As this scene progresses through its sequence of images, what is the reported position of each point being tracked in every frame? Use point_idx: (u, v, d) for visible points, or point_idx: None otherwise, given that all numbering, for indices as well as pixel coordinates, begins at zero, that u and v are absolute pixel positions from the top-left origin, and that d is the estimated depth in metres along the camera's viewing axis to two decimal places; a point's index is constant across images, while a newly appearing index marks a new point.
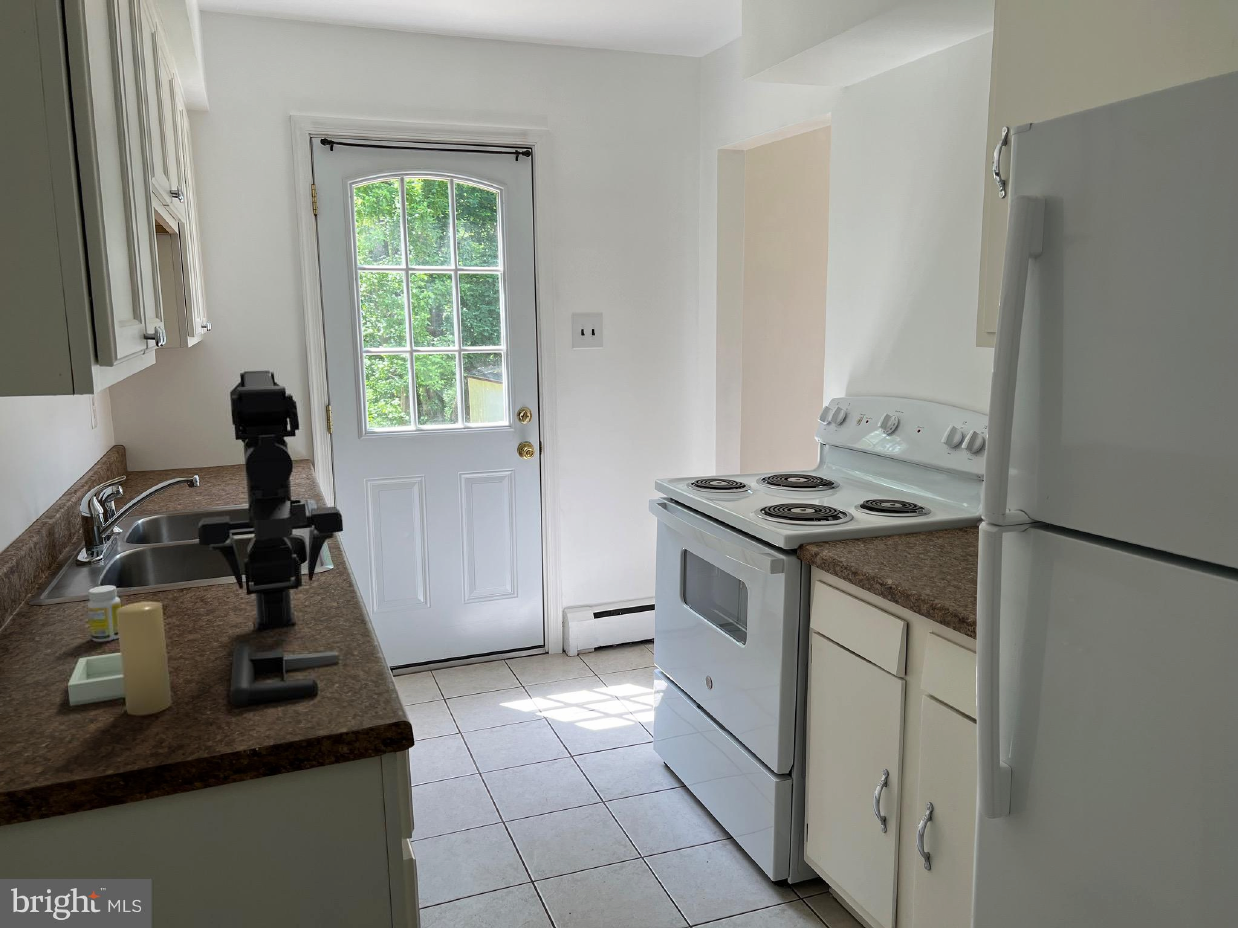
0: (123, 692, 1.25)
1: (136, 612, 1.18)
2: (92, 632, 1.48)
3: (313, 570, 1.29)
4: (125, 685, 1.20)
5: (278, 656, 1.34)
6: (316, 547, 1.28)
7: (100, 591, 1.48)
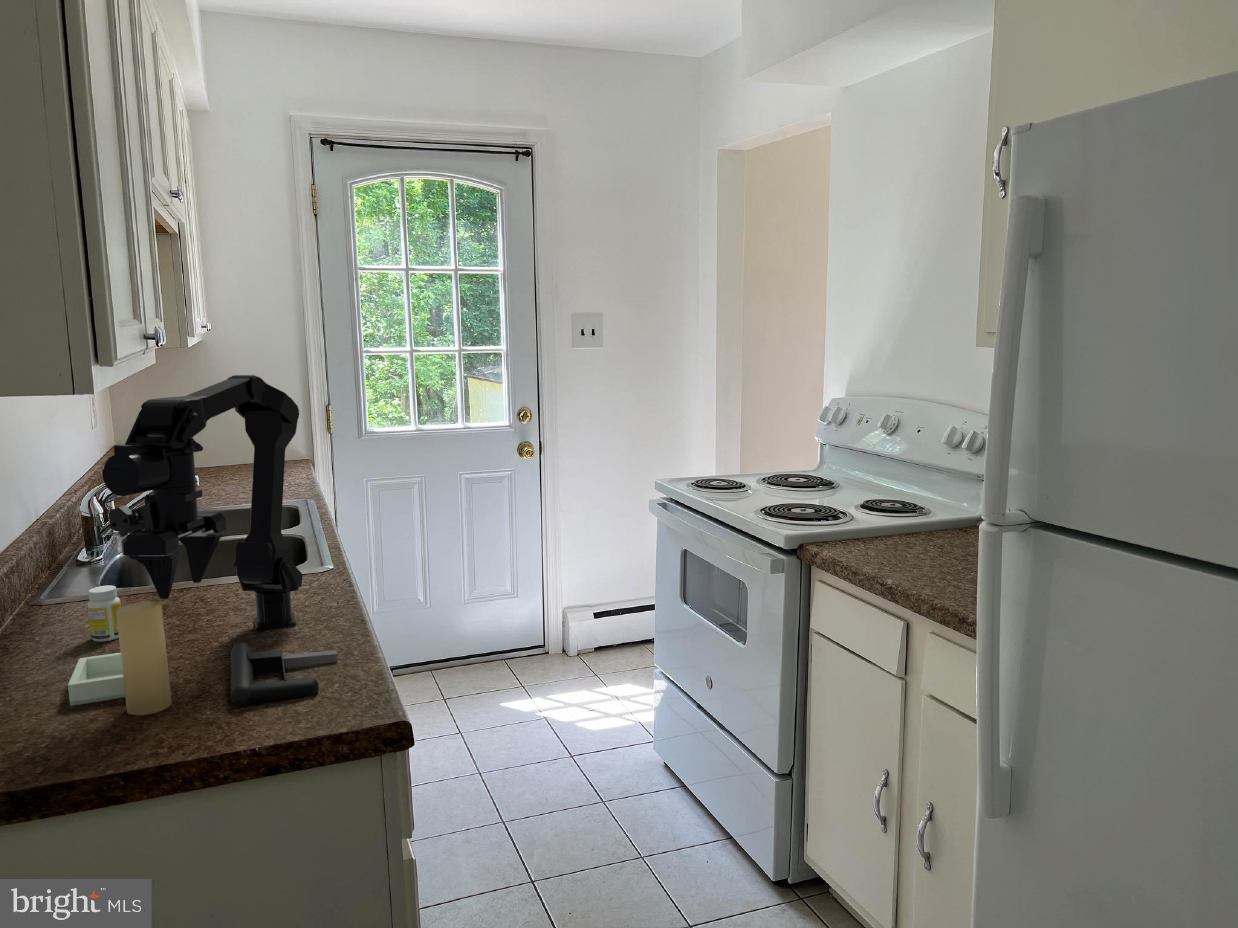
0: (123, 692, 1.25)
1: (136, 612, 1.18)
2: (92, 632, 1.48)
3: (156, 588, 1.27)
4: (125, 685, 1.20)
5: (276, 655, 1.34)
6: None
7: (100, 591, 1.48)
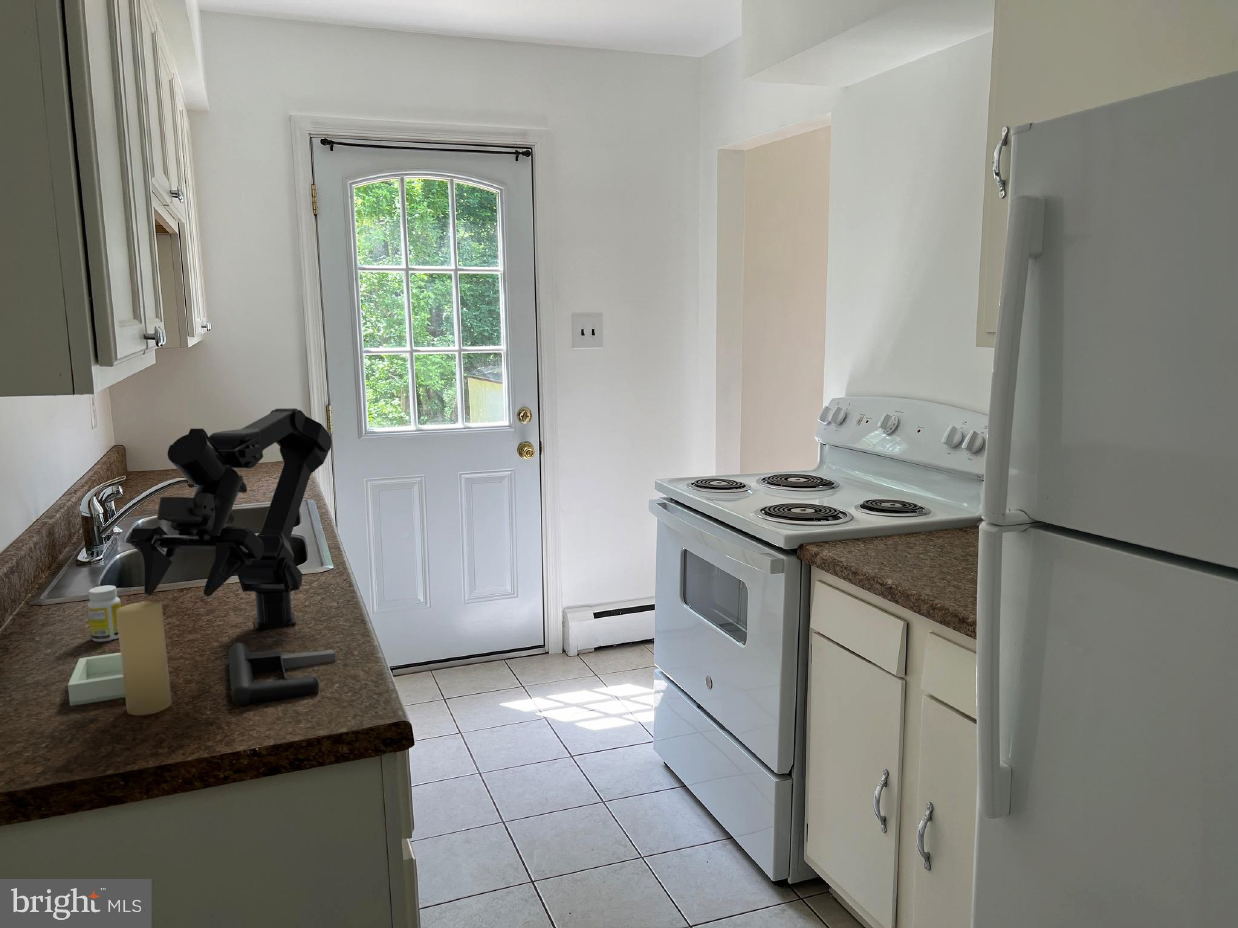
0: (123, 692, 1.25)
1: (136, 612, 1.18)
2: (92, 632, 1.48)
3: (210, 582, 1.28)
4: (125, 685, 1.20)
5: (275, 655, 1.34)
6: (219, 558, 1.29)
7: (100, 591, 1.48)
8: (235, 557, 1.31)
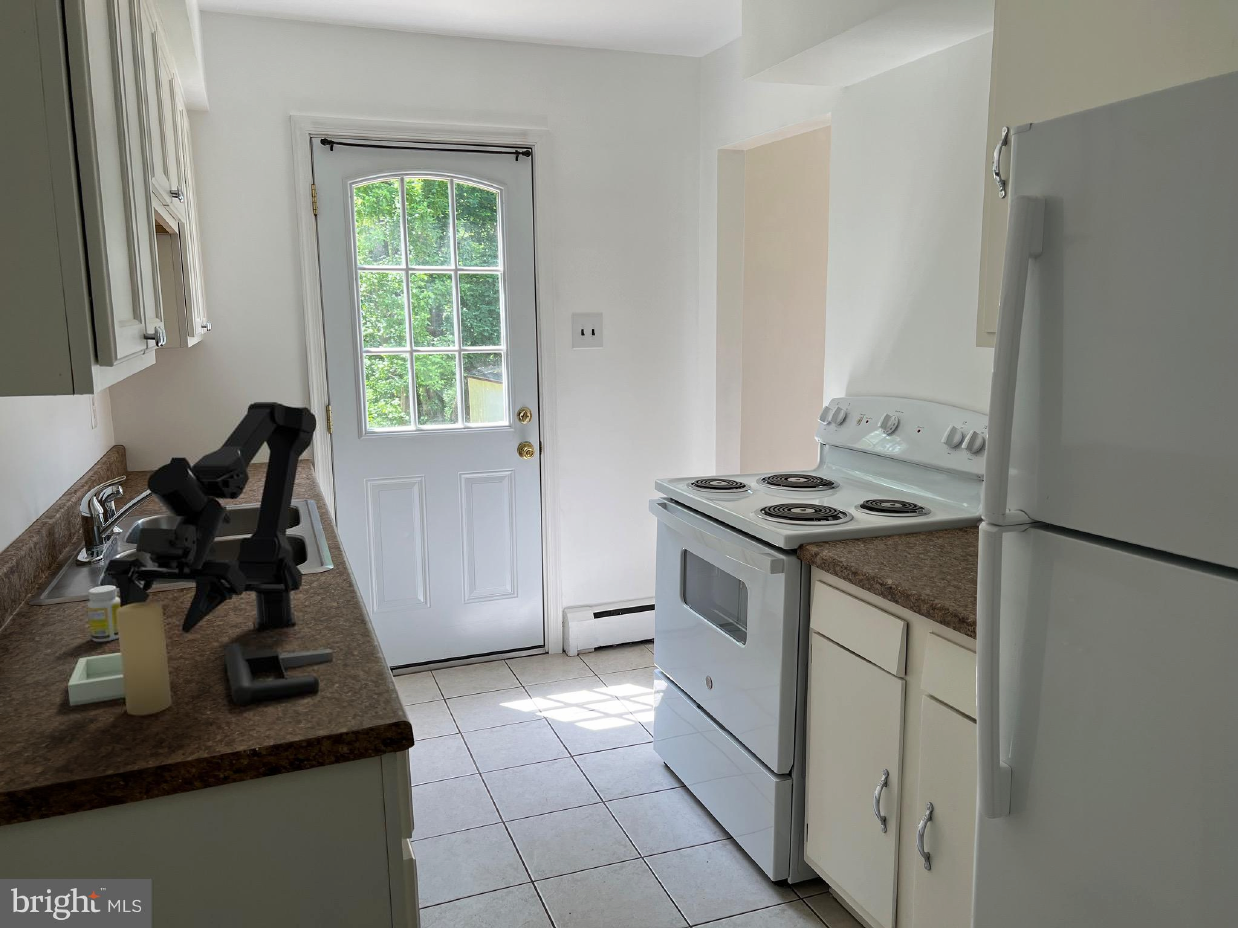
0: (123, 692, 1.25)
1: (136, 612, 1.18)
2: (92, 632, 1.48)
3: (188, 618, 1.23)
4: (125, 685, 1.20)
5: (273, 655, 1.34)
6: (199, 593, 1.24)
7: (100, 591, 1.48)
8: (216, 592, 1.26)
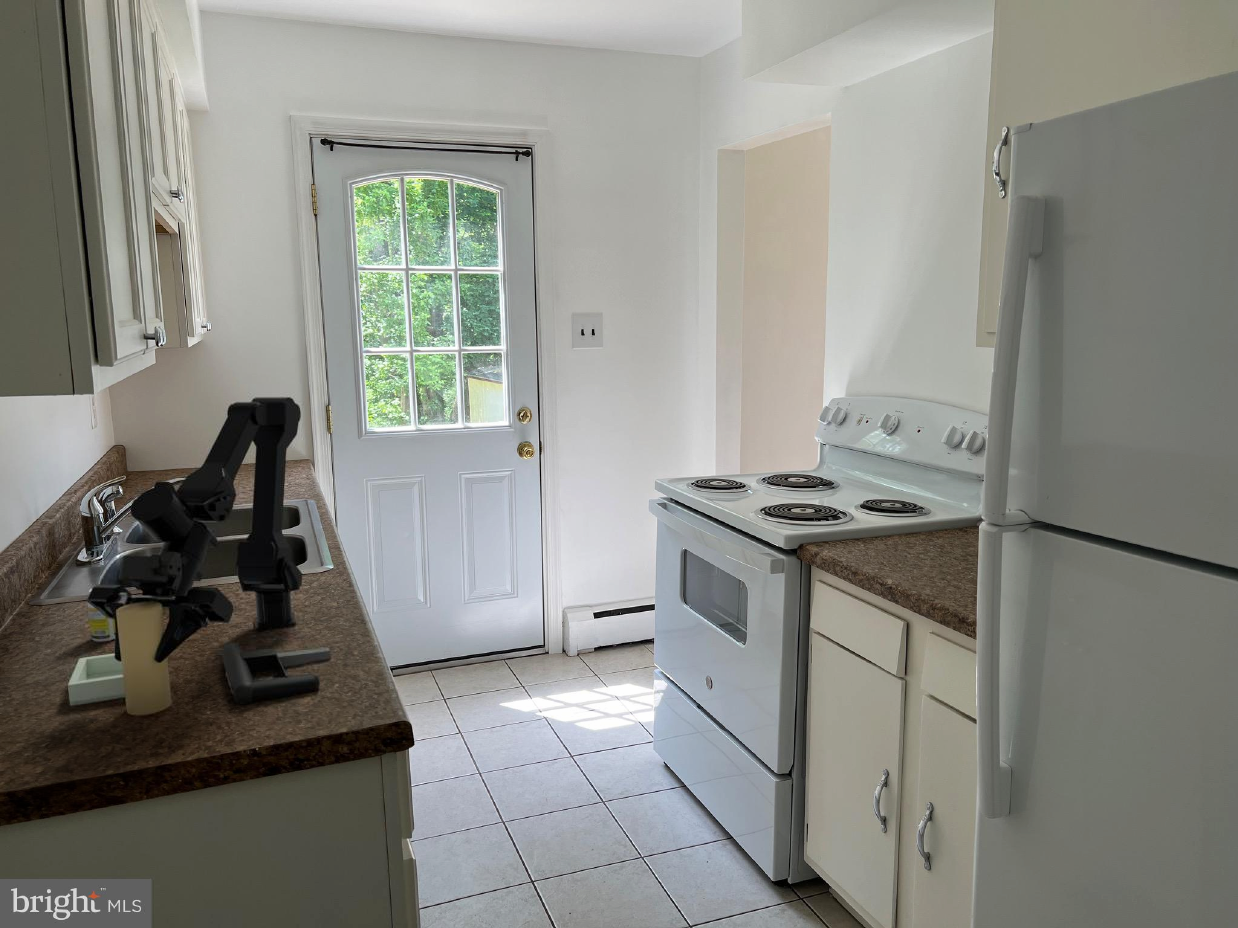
0: (123, 692, 1.25)
1: (136, 612, 1.18)
2: (92, 632, 1.48)
3: (161, 647, 1.20)
4: (125, 685, 1.20)
5: (271, 654, 1.35)
6: (173, 622, 1.21)
7: None
8: (190, 619, 1.23)
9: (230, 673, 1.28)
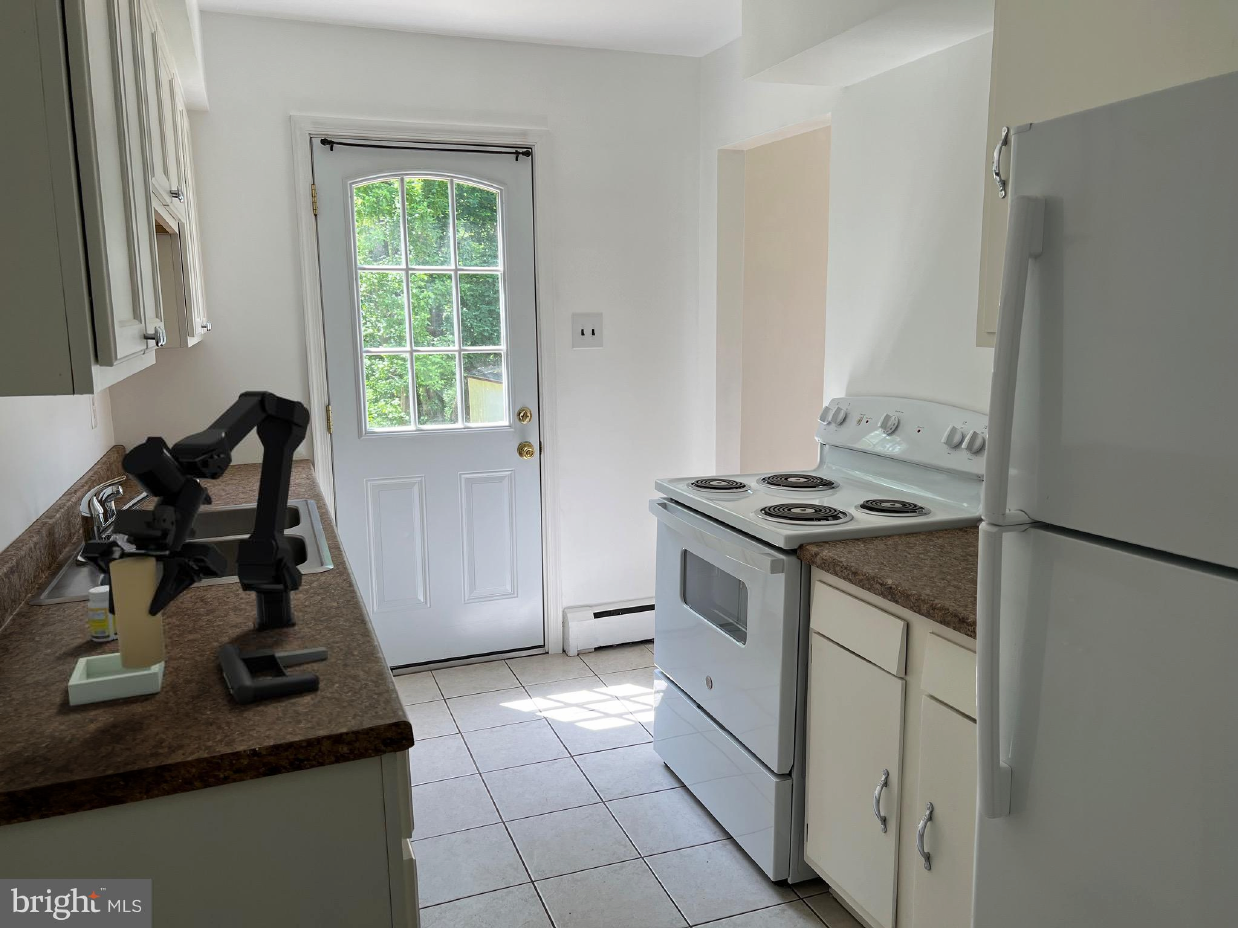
0: (123, 692, 1.25)
1: (130, 565, 1.18)
2: (92, 632, 1.48)
3: (156, 601, 1.20)
4: (119, 639, 1.20)
5: (269, 654, 1.35)
6: (167, 575, 1.21)
7: (100, 591, 1.48)
8: (184, 574, 1.23)
9: (229, 673, 1.28)
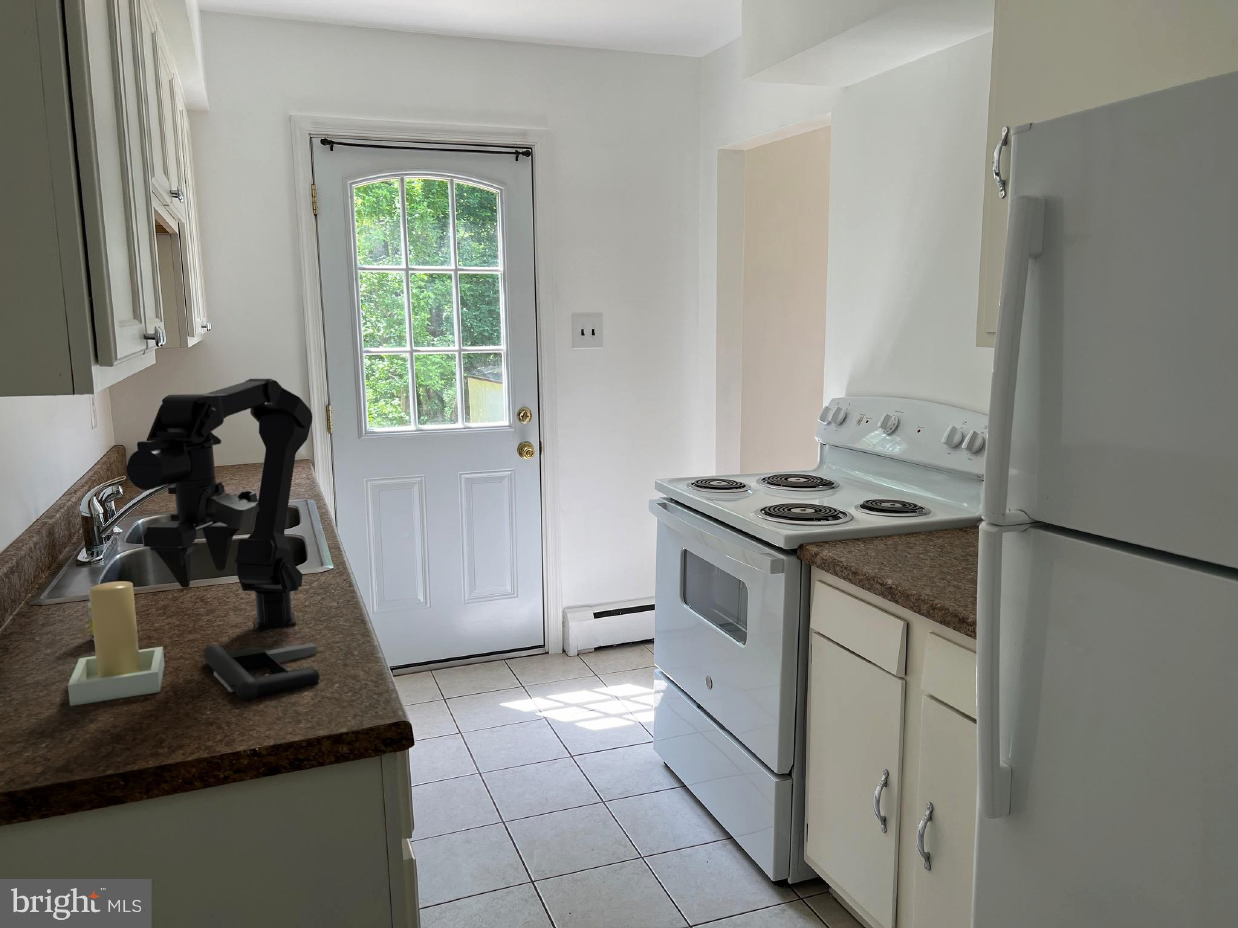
0: (123, 692, 1.25)
1: (108, 590, 1.26)
2: (92, 632, 1.48)
3: (226, 559, 1.42)
4: (97, 659, 1.28)
5: (259, 652, 1.35)
6: (230, 537, 1.42)
7: None
8: None
9: (226, 672, 1.28)
